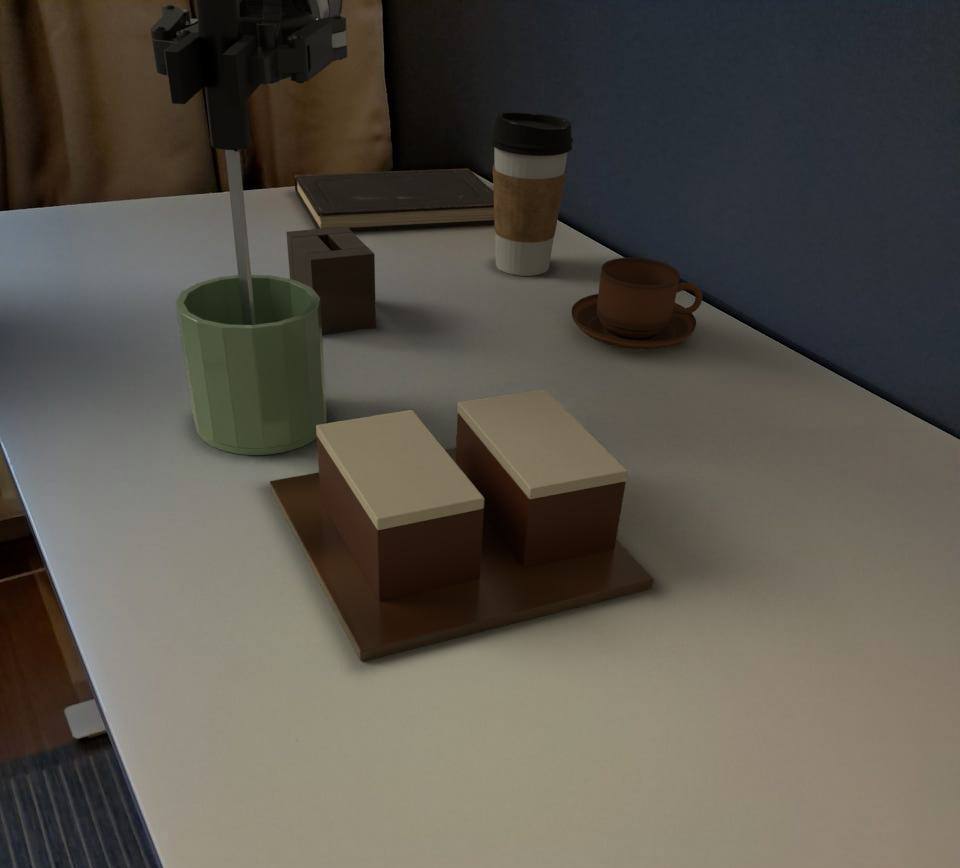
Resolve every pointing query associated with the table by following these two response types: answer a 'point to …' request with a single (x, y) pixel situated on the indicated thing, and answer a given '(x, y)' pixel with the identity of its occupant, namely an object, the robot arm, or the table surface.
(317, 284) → the knife block
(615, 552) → the cake board
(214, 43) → the knife
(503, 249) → the coffee cup
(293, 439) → the cup
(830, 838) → the table surface
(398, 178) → the hardcover book
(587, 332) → the cup and saucer
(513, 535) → the cake slice
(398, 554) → the block
